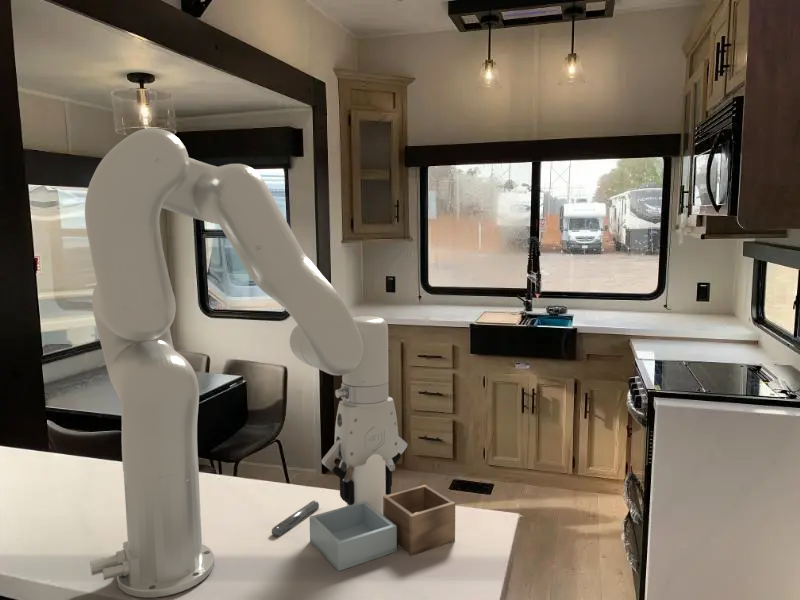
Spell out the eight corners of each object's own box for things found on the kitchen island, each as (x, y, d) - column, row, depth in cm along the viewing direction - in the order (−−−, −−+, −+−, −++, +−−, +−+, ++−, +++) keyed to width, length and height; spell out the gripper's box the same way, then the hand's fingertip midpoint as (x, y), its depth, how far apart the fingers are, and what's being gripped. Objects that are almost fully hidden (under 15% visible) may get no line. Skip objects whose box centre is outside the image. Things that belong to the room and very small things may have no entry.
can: (368, 527, 97) (368, 454, 96) (339, 515, 101) (338, 446, 99) (393, 512, 102) (393, 443, 101) (364, 501, 106) (363, 435, 105)
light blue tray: (338, 571, 84) (338, 544, 84) (310, 541, 93) (309, 516, 92) (396, 551, 90) (396, 525, 89) (364, 524, 98) (364, 501, 97)
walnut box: (411, 555, 88) (411, 516, 88) (383, 532, 95) (383, 496, 94) (455, 540, 93) (455, 503, 92) (425, 519, 99) (425, 484, 99)
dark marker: (277, 539, 94) (277, 529, 93) (269, 537, 94) (269, 527, 94) (320, 509, 104) (320, 500, 104) (313, 507, 104) (313, 498, 104)
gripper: (327, 406, 91) (329, 519, 93) (422, 389, 101) (421, 492, 103) (307, 394, 98) (309, 500, 100) (397, 380, 107) (398, 477, 109)
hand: (366, 495), depth 101 cm, fingers closed on can, 6 cm apart
